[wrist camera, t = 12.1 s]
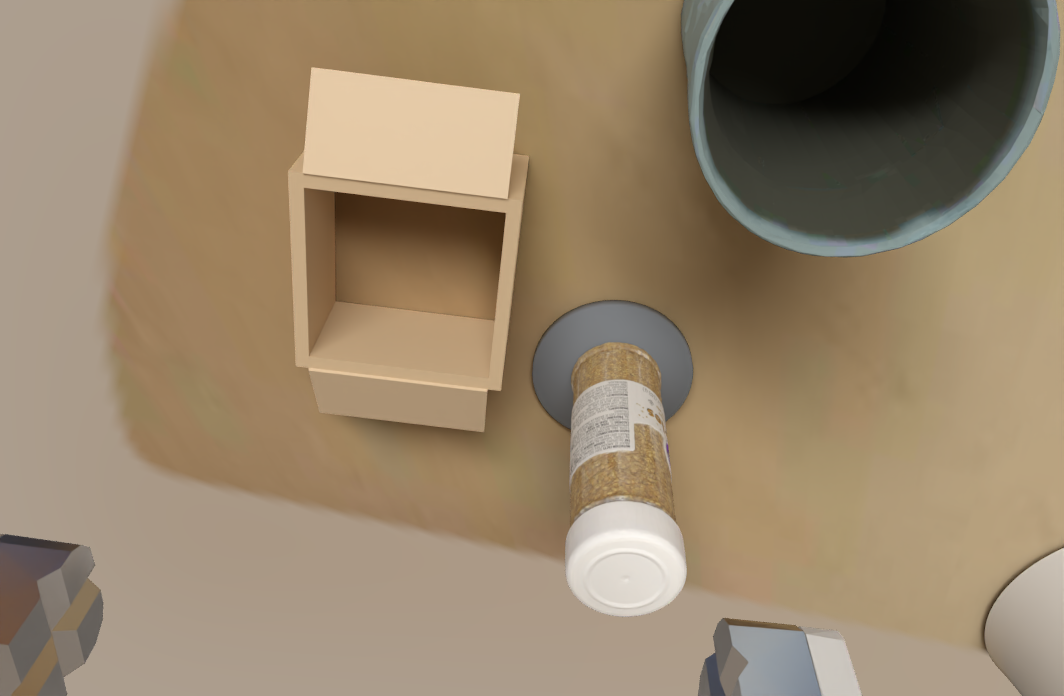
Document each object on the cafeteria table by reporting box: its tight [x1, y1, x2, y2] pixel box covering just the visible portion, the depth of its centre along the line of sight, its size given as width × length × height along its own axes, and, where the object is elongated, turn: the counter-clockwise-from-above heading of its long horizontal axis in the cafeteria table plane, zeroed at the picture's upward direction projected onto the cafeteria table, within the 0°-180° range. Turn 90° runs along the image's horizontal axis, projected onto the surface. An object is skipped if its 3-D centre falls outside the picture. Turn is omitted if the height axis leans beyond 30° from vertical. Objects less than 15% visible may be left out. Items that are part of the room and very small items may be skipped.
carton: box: [288, 67, 529, 432], centre depth 38 cm, size 9×17×5 cm, turn 173°
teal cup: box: [681, 0, 1060, 257], centre depth 29 cm, size 10×10×12 cm
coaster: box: [532, 300, 693, 429], centre depth 44 cm, size 8×8×1 cm
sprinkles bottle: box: [565, 342, 687, 617], centre depth 38 cm, size 5×5×14 cm
